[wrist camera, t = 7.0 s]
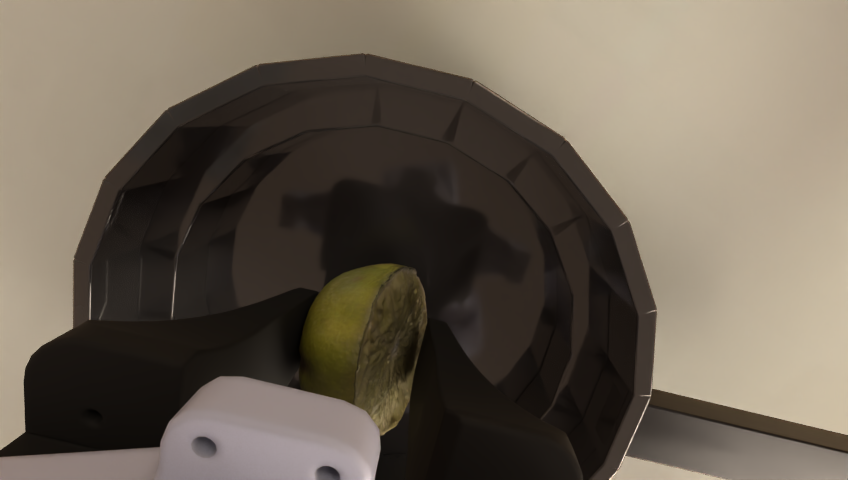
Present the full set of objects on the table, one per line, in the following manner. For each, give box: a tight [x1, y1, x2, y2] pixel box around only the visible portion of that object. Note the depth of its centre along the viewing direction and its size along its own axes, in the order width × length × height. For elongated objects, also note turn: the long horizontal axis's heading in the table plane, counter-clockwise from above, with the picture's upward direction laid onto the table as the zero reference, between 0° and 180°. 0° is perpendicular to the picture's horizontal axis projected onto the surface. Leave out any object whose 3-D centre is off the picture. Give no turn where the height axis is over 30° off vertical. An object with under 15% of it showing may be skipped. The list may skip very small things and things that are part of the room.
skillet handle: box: [625, 389, 848, 480], centre depth 13 cm, size 2×8×1 cm, turn 77°
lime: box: [298, 264, 427, 436], centre depth 13 cm, size 4×5×5 cm
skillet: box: [73, 53, 657, 480], centre depth 14 cm, size 16×16×4 cm
